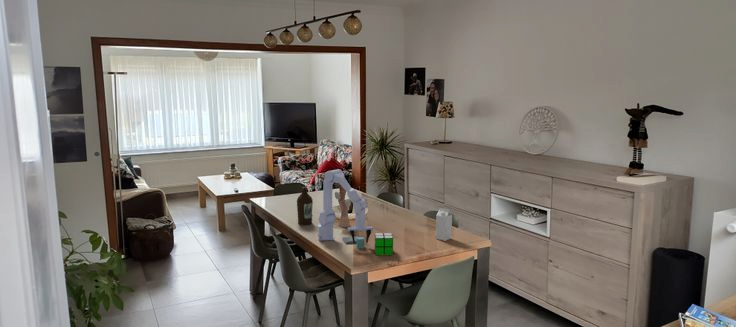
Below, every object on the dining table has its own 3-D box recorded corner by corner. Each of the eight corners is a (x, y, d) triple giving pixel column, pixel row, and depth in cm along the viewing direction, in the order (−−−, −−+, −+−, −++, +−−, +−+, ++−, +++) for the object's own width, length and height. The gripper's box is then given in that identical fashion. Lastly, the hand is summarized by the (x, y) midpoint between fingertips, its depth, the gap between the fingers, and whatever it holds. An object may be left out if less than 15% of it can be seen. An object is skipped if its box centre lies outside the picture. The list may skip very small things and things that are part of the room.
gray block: (346, 245, 313) (346, 241, 312) (342, 240, 321) (342, 237, 321) (360, 243, 315) (360, 240, 315) (356, 239, 324) (356, 236, 323)
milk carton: (441, 236, 329) (442, 206, 326) (451, 238, 324) (452, 208, 321) (435, 238, 323) (436, 208, 320) (445, 241, 319) (446, 210, 316)
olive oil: (294, 223, 358) (293, 187, 354) (306, 220, 365) (306, 185, 361) (303, 226, 350) (302, 189, 346) (316, 223, 357) (315, 187, 354)
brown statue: (350, 224, 356) (350, 180, 351) (350, 227, 349) (350, 182, 344) (335, 224, 356) (335, 180, 351) (334, 227, 348) (334, 182, 344)
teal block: (357, 248, 305) (357, 239, 304) (356, 246, 309) (356, 237, 308) (364, 248, 305) (364, 239, 304) (363, 246, 309) (363, 237, 308)
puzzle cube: (391, 249, 303) (391, 232, 301) (393, 255, 293) (393, 238, 291) (374, 249, 303) (374, 233, 301) (375, 255, 293) (375, 238, 291)
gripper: (348, 222, 299) (348, 245, 302) (373, 221, 301) (373, 244, 304) (347, 219, 306) (347, 241, 308) (371, 218, 308) (371, 240, 310)
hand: (360, 242), depth 306 cm, fingers open, 7 cm apart
